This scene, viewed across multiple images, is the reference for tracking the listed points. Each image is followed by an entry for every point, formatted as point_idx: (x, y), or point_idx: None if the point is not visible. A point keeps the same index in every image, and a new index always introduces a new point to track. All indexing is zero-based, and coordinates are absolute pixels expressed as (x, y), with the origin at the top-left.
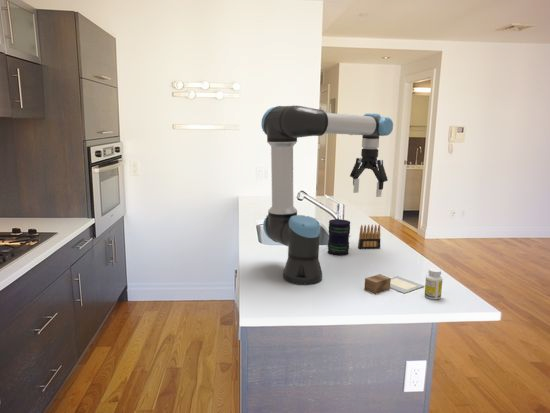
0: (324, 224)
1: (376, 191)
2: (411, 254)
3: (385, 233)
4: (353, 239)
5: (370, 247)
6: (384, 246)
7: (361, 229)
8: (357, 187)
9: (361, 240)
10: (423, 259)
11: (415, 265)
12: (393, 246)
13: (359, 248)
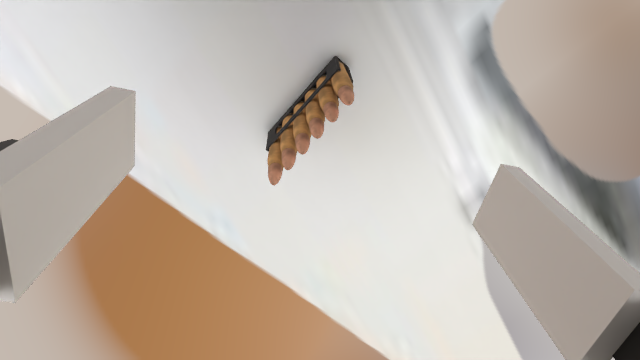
0: None
1: (101, 115)
2: None
3: (363, 330)
4: (428, 179)
5: (297, 100)
6: None
7: (343, 88)
8: (510, 243)
9: (332, 71)
10: None
11: (8, 7)
12: (247, 203)
13: (334, 57)
